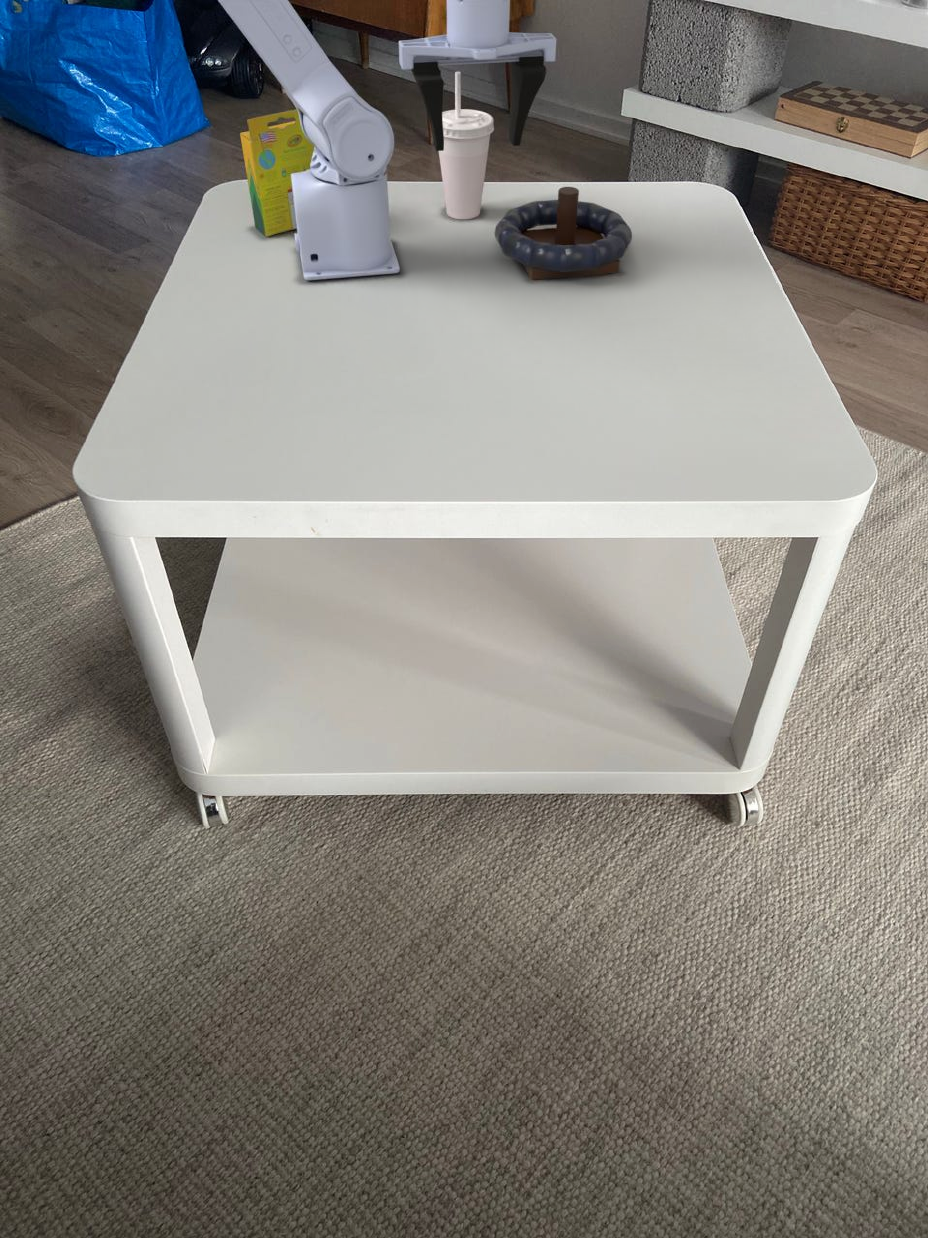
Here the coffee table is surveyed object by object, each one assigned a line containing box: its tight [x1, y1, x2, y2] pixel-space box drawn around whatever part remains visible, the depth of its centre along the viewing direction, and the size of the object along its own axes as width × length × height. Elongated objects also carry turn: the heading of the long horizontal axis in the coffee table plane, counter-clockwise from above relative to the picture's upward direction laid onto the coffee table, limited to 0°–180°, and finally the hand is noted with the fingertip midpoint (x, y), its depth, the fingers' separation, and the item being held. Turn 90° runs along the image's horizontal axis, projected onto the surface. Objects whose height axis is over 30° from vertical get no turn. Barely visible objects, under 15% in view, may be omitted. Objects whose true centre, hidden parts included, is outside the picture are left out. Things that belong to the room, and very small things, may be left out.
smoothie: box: [438, 71, 495, 220], centre depth 103 cm, size 6×6×14 cm
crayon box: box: [239, 109, 314, 238], centre depth 101 cm, size 7×3×12 cm, turn 123°
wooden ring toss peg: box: [521, 186, 621, 281], centre depth 97 cm, size 9×9×7 cm
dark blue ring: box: [494, 199, 633, 272], centre depth 98 cm, size 13×13×2 cm
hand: (476, 144), depth 96 cm, fingers open, 7 cm apart
